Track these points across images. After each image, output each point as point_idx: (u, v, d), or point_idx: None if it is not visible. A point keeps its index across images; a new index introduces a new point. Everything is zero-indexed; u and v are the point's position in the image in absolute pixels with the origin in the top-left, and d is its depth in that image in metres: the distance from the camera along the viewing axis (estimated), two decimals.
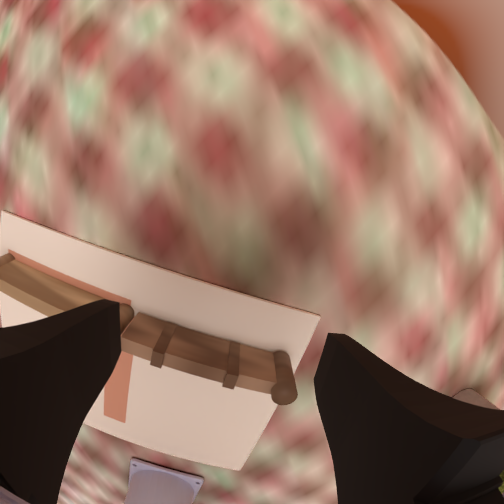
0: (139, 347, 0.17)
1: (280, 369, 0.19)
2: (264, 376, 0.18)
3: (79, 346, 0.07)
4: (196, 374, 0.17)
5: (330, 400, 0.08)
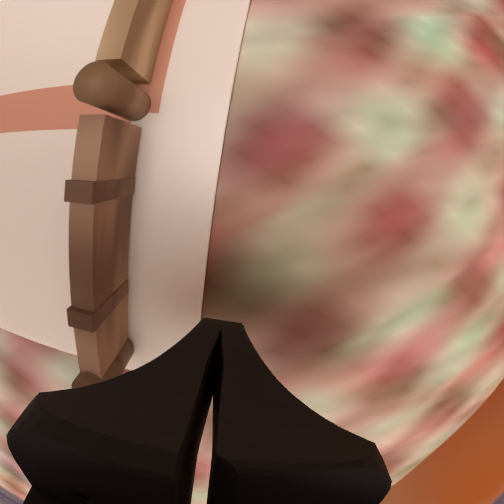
0: (92, 152, 0.08)
1: (116, 368, 0.12)
2: (103, 359, 0.11)
3: (208, 375, 0.07)
4: (70, 263, 0.09)
5: (215, 391, 0.08)
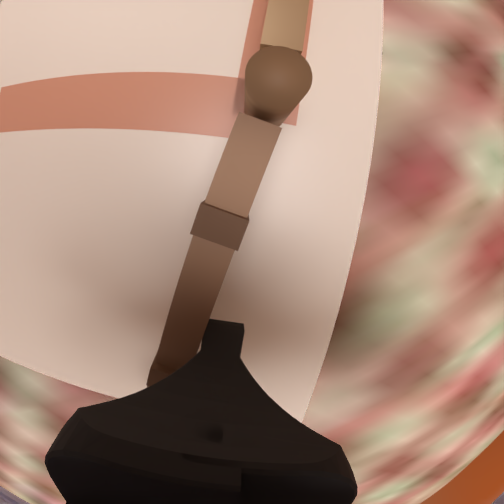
0: (249, 175, 0.07)
1: None
2: None
3: None
4: (171, 313, 0.07)
5: None
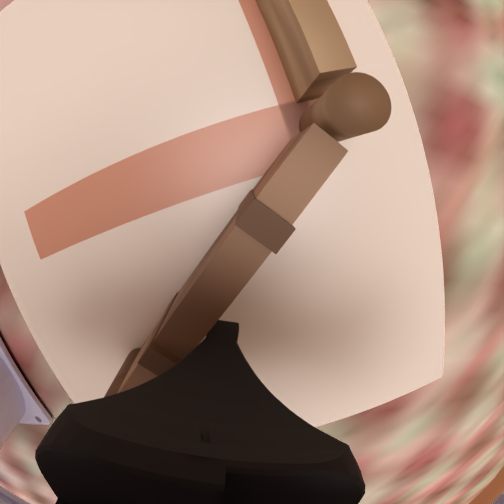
0: (306, 186, 0.07)
1: None
2: None
3: None
4: (187, 298, 0.07)
5: None
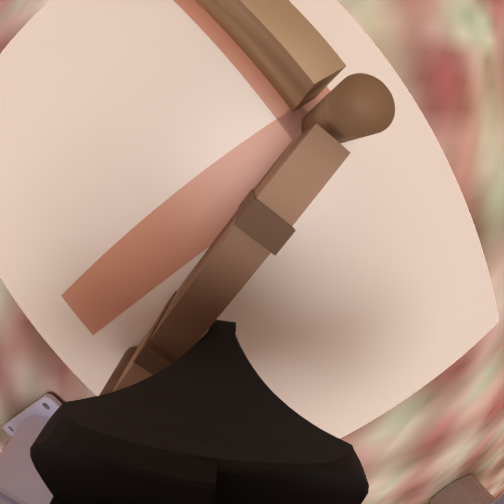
0: (307, 187, 0.07)
1: None
2: None
3: None
4: (184, 298, 0.07)
5: None
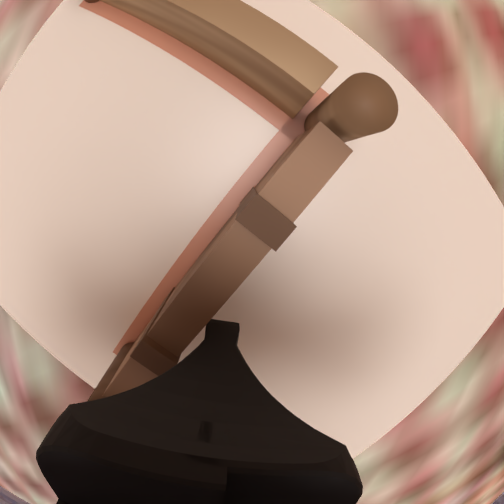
0: (309, 183, 0.07)
1: None
2: None
3: None
4: (183, 293, 0.07)
5: None
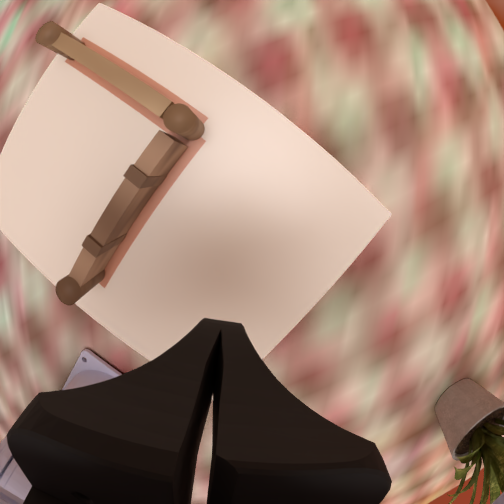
0: (154, 158, 0.14)
1: (90, 285, 0.17)
2: (88, 275, 0.16)
3: (208, 374, 0.07)
4: (105, 211, 0.14)
5: (215, 391, 0.08)
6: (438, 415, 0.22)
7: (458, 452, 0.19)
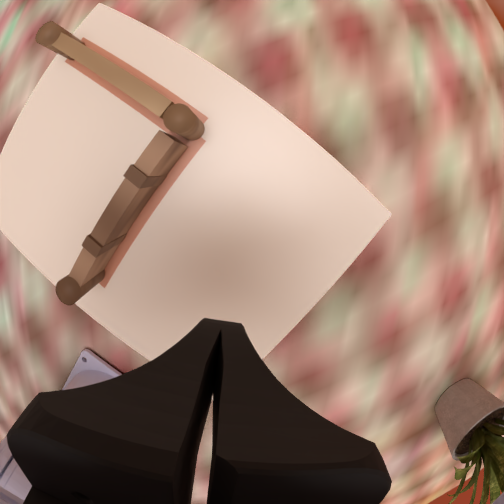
0: (154, 158, 0.14)
1: (90, 285, 0.17)
2: (88, 275, 0.16)
3: (208, 374, 0.07)
4: (105, 211, 0.14)
5: (215, 391, 0.08)
6: (438, 415, 0.22)
7: (458, 452, 0.19)
